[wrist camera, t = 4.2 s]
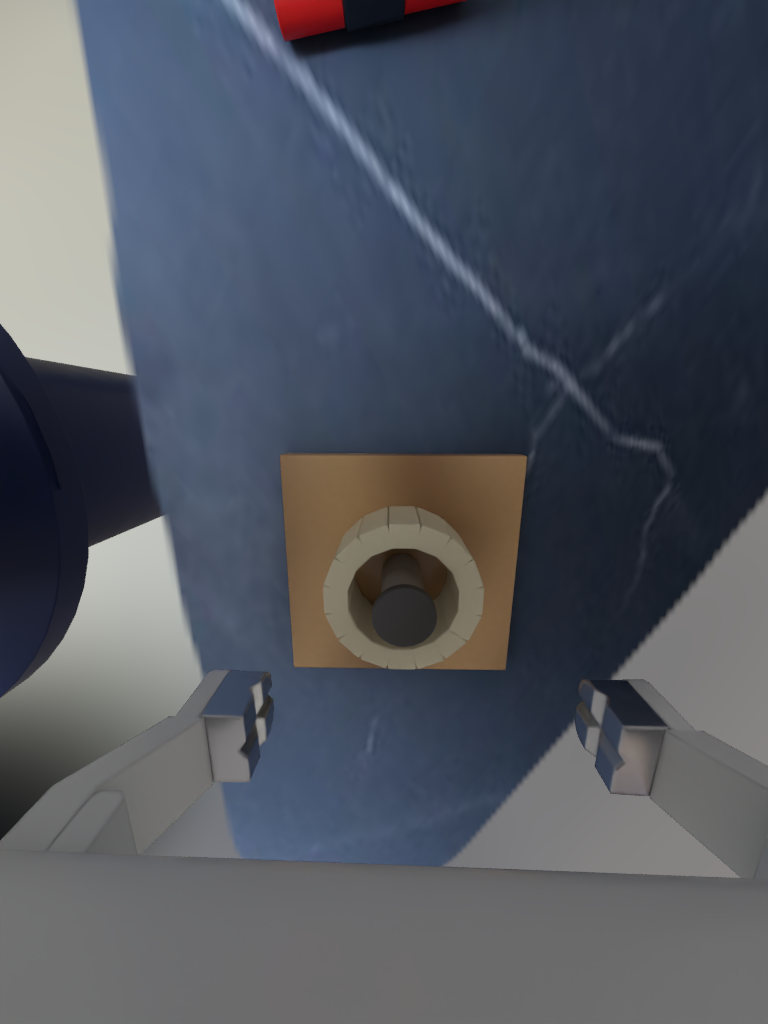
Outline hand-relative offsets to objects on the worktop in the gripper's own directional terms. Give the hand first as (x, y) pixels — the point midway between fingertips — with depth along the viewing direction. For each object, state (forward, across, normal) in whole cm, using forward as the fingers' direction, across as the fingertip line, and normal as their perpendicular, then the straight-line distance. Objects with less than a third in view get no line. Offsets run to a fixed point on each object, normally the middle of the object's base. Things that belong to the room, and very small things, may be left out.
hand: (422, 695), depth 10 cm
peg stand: (+9, 0, 0) cm, 9 cm away
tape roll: (+8, 0, 0) cm, 8 cm away
